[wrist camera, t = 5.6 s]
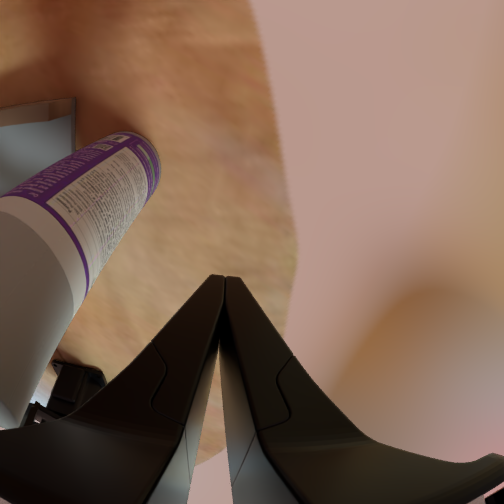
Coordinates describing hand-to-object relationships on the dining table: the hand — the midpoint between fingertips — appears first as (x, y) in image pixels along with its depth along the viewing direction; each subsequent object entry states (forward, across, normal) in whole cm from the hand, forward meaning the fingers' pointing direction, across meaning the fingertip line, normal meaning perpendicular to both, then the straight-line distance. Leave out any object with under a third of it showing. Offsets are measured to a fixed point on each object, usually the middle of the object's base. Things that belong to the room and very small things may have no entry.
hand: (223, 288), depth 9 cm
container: (+10, +6, 0) cm, 12 cm away
